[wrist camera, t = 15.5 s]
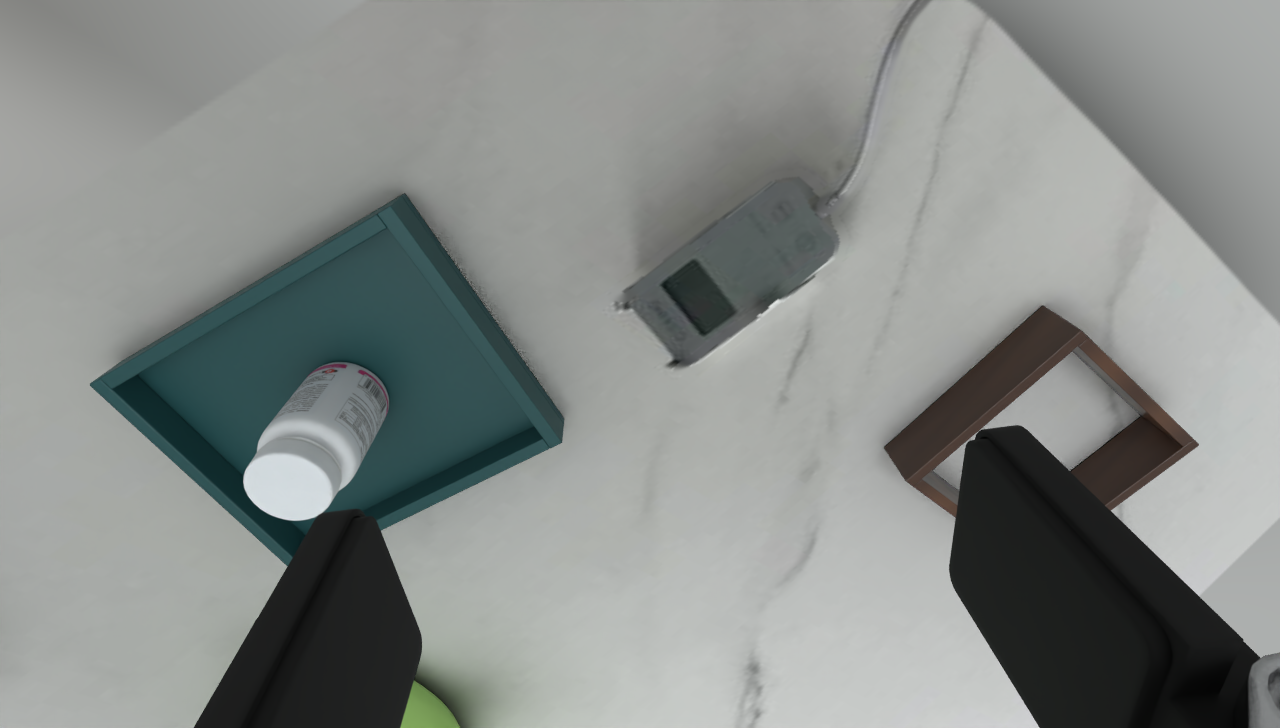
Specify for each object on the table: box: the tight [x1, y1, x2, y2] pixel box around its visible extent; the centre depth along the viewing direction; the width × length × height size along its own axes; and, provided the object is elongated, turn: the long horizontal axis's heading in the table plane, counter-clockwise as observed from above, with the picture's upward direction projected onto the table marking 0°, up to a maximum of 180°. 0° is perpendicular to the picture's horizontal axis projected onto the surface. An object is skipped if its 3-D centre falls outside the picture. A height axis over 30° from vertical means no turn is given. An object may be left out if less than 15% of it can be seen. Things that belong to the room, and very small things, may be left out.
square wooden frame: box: [884, 306, 1199, 517], centre depth 41 cm, size 12×12×4 cm
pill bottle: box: [243, 362, 389, 521], centre depth 34 cm, size 5×5×8 cm
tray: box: [90, 194, 564, 566], centre depth 37 cm, size 20×16×3 cm
